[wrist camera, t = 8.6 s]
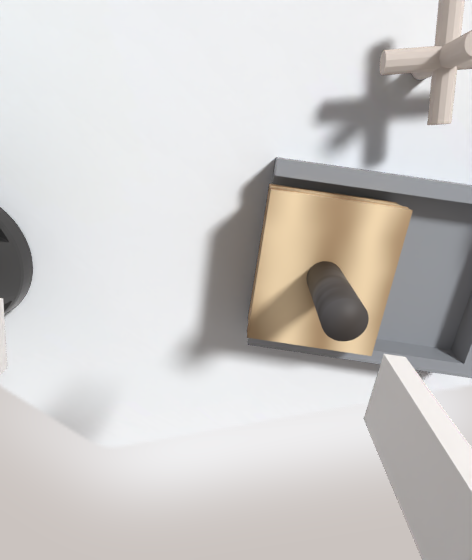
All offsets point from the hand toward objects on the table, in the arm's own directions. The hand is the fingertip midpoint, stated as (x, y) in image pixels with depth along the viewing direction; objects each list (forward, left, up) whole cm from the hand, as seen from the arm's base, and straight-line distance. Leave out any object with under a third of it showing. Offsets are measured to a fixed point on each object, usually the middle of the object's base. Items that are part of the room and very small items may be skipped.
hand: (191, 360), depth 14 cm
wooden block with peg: (+9, -3, -28) cm, 29 cm away
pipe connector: (+15, +16, -30) cm, 37 cm away
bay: (+15, -3, -30) cm, 33 cm away
